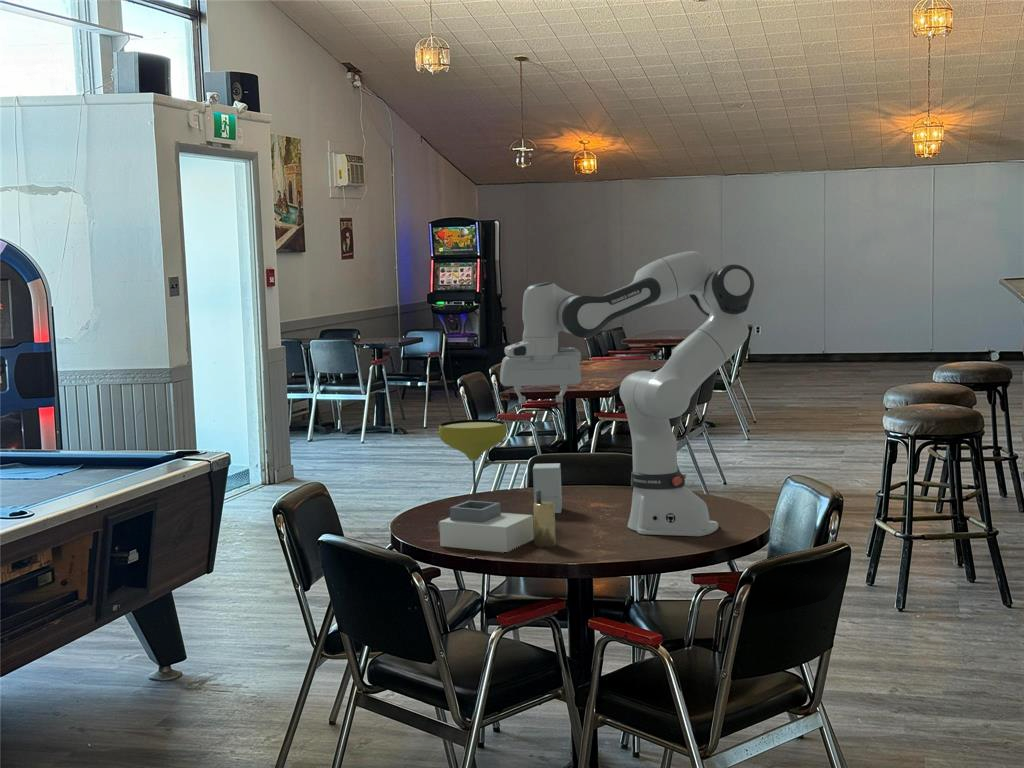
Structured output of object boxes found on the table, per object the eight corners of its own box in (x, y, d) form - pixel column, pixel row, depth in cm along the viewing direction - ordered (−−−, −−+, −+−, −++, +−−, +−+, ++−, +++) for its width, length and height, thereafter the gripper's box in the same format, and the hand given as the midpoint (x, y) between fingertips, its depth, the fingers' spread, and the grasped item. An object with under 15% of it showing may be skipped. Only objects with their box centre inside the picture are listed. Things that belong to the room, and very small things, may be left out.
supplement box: (562, 508, 307) (561, 462, 305) (561, 513, 299) (559, 467, 298) (535, 508, 307) (534, 463, 306) (533, 514, 300) (532, 467, 299)
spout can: (558, 543, 266) (557, 489, 265) (549, 548, 262) (548, 493, 260) (540, 541, 268) (538, 488, 267) (530, 546, 264) (529, 492, 263)
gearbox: (533, 539, 271) (532, 503, 270) (506, 552, 258) (505, 514, 258) (455, 532, 281) (454, 497, 280) (426, 544, 269) (424, 508, 268)
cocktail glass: (521, 516, 297) (518, 423, 294) (460, 526, 288) (457, 430, 285) (489, 505, 312) (486, 417, 310) (430, 514, 304) (427, 423, 301)
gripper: (577, 346, 282) (578, 400, 283) (498, 348, 278) (499, 402, 279) (584, 347, 276) (584, 403, 277) (502, 349, 272) (503, 406, 273)
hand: (540, 403), depth 278 cm, fingers open, 8 cm apart
